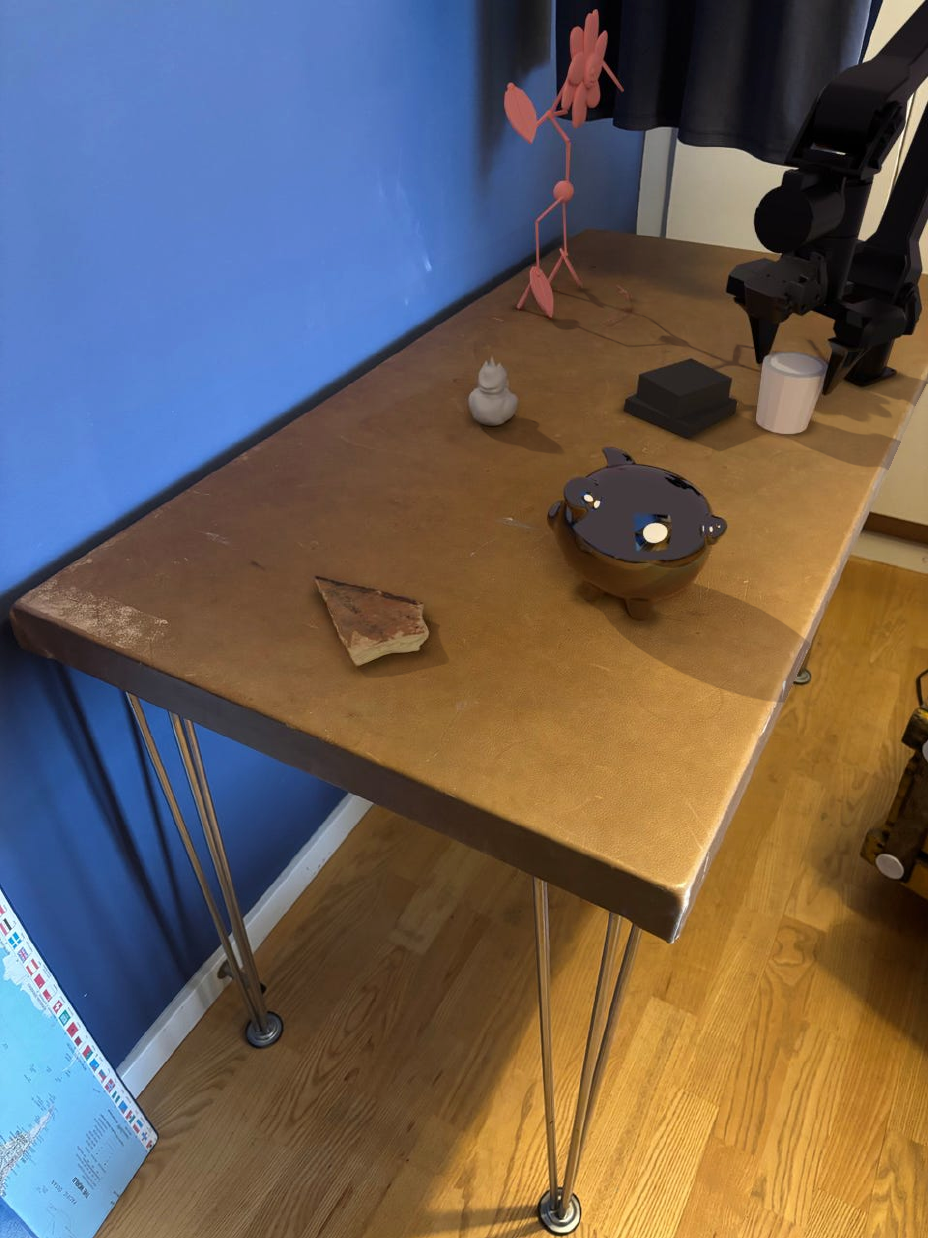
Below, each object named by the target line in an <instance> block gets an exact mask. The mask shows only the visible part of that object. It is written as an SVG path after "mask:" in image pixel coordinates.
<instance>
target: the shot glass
mask: <svg viewBox="0 0 928 1238" xmlns="http://www.w3.org/2000/svg"><path fill="white" fill-rule="evenodd" d="M827 367H828V365H827V364H826V361H825V360H823V359H822V358H820V357H819V356H814V355H812V354H809V353H805V352H799V351H794V350H793V351H792V350H791V351H790V350H789V351H788V350H787V351H784V350H782V351H776V352H770V353H769V355H767V356H765V358H764V360H763V364H761V375H760V382H759V391H758V397H757V407H756V414H755V421H756V423H757V425H758V426H760V427H761V428H763V429H764V430H766V431H768V432H771V433H775V434H781V435H794V434H799V433H803V432H804V431H806V430H807V428H808V425H809V423H810V420H811V418H812V415H813V412H814V410H815V407H816V404H817V403H818V402H817V401H818V399H819V397H820V394H821V392H822V388H823V382H824V378H825V375H826V371H827Z"/></svg>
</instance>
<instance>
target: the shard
mask: <svg viewBox="0 0 928 1238" xmlns="http://www.w3.org/2000/svg"><path fill="white" fill-rule="evenodd" d="M314 579H315V583H316V586H317V588H318V592H319V593H320V594H321V596H322V599H323V601H324V602H325V603H326V604H327V605H326V606H327V610H328V612H329V615H330V616H331V620H332V622H333V625H334V627H335V628H336V630H337V634H338V637H339V639H340V640H341V642H342V644H343V645H344V646H345V648H346V651H347V652H348V655H349V656H350V659H351V660H352V662H353V664H354V666H356V667H359V666H362V665H364V664H366V663H369V662H371V661H374V660H376V659H378V658H381V657H383V656H386V655H389V654H396V653H397V654H399V653H400V654H401V653H410V652H418V651H420V650H421V648H420V647H421V645H423V644H424V643H425V641H427V639H428V638H429V636H430V631H429V628H428V626H427V624H426V622H425V620H424V617H423V614H424V608H425V602H422V601H419V600H416V599H412V598H410V597H406V596H402V595H394V594H393V593H391V592H388V591H383V590H379V589H376V588H373V587H367V586H365V585H364V586H363V585H358V584H353V583H348V582H342V581H337V580H334V579H329V578H327V577H321V576H319V575H314Z"/></svg>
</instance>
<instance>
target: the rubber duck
mask: <svg viewBox="0 0 928 1238" xmlns="http://www.w3.org/2000/svg"><path fill="white" fill-rule="evenodd" d="M477 386H478V387H476V388H474V389H473V390H472V391H471V392H470V394H469V396H468V408H469V411H470V413H471V414H472V418H473V419H474V421H476V422H477V423H479V424H481V425H485V426H490V427H495V426H496V427H497V426H501V425H503V424H504V423H505V422H507V421H509V420H511V418H512V417H513V416H514V415H515V413H516V412H517V410H518V406H519V405H518V404H519V399H518V397H517V395H516V394H515V393H513V392H511V391H510V381H509V380H508V372H507V370H506V369H505V367H503V365H502V364H501V362H498V364H497V365H496V363H495V359H494V357H493V355H491V357H490V360H489V362H488V360H485V361H484V363H483V366H482V367H481V369H480V370H479V373H478V379H477Z"/></svg>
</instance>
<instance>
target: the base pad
mask: <svg viewBox="0 0 928 1238" xmlns="http://www.w3.org/2000/svg"><path fill="white" fill-rule="evenodd" d="M636 394H637V392H636V393H634V394H632V395H630V396H627V397H626V398H625V399H624V406H623V407H624V408H623V412H625V413H627V414H629V415H632V416H634V417H636V418H639V419H640V420H643V421H645V422H648V423H651V424H653V425H655V426H656V427H659V428H661V429H663V430H666V431H669V432H670V433H673V434H675V435H677V436H680V437H682V438H685V439H687V440H688V439H690V438H692V437H694V436H696V435H697V434H699V433H702V432H703V431H705V430H707V429H708V428H711V427H712V426H714V425H716V424H718V423H720V422H721V421H724V420H725V419H727V418H729V417H731V416H732V415H735V414H736V410H737V407H738V402H739V401H738V400H737V399H735V398H732V397H730V396H729V398H728V402H725V403H722V404H719V405H716V406H713V407H711V408H708V409H705V410H702V411H699V412H696V413H693V414H690V415H687V416H684V417H681V418H678V419H674V418H672V417H670V416H668V415H667V414H665V413H663V412H661V411H660V410H658V409H656V408H654V407H653V406H651V405H649V404H647V403H646V402H644V401H642V400H640V399H639V398H637V397H636Z"/></svg>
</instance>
